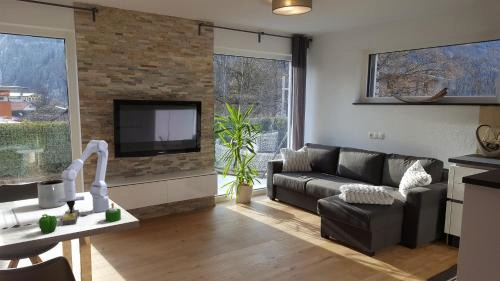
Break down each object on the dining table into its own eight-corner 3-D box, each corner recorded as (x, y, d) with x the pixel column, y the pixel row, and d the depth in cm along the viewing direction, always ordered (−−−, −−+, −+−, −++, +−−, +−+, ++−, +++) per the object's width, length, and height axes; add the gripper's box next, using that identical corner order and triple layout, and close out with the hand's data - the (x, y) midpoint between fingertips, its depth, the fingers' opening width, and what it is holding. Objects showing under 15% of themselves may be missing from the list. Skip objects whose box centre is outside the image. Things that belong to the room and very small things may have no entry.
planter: (35, 209, 230) (33, 185, 228) (43, 202, 246) (41, 180, 244) (63, 207, 234) (61, 184, 232) (69, 201, 249) (67, 178, 248)
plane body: (66, 214, 219) (65, 210, 219) (78, 213, 222) (78, 209, 221) (61, 225, 201) (61, 221, 200) (76, 223, 203) (75, 219, 203)
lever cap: (75, 215, 210) (75, 212, 209) (74, 219, 203) (74, 215, 203) (64, 216, 207) (64, 213, 207) (62, 220, 201) (62, 217, 201)
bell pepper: (54, 227, 197) (52, 209, 196) (59, 231, 191) (58, 213, 190) (36, 232, 191) (35, 213, 190) (42, 235, 185) (40, 216, 184)
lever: (74, 210, 219) (74, 206, 219) (70, 215, 210) (70, 211, 210) (69, 210, 218) (69, 206, 218) (65, 215, 209) (65, 211, 209)
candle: (123, 218, 213) (123, 201, 212) (115, 222, 205) (115, 205, 204) (111, 217, 215) (110, 200, 214) (102, 221, 207) (101, 204, 206)
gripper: (82, 187, 216) (84, 210, 218) (55, 190, 209) (56, 213, 210) (84, 190, 210) (85, 213, 212) (55, 193, 203) (57, 217, 204)
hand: (71, 213), depth 211 cm, fingers closed, pressing on lever
